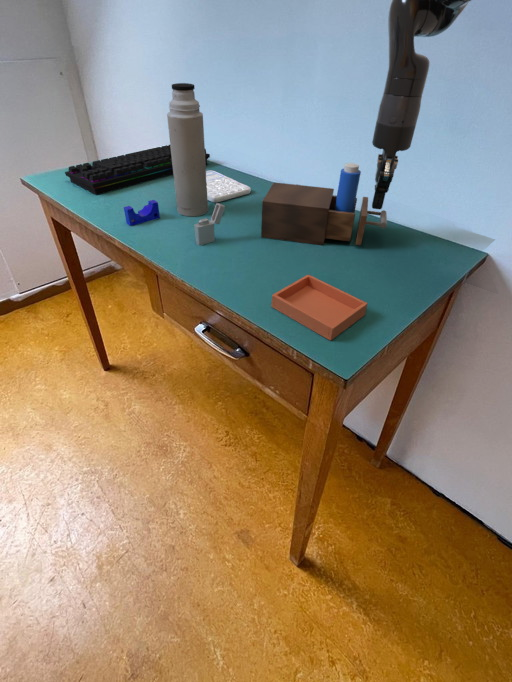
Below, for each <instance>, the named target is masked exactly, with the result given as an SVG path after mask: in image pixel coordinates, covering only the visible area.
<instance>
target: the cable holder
mask: <svg viewBox="0 0 512 682" xmlns="http://www.w3.org/2000/svg"><path fill="white" fill-rule="evenodd" d="M123 212H124V217H125V222H126V224H127V225H128V226H130V227H133V226H136V225H140V224H143V223H147V222H151V221H154V220H157V219H160V218H161V216H160V208H159V202H158V201H157V200H155V199H152V200H148V204H147V205H146V204H145V205H144V206H143V207H142V209H140V210H138V211H137V213H136V212H135V210H134V208H133V207H132V206H131V205H127V206H124V207H123Z"/></svg>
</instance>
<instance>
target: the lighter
mask: <svg viewBox="0 0 512 682" xmlns="http://www.w3.org/2000/svg"><path fill="white" fill-rule="evenodd" d="M225 209H226V205H224V204H222V203H220V202H216V204H215V206H214V209H213V212H212V215H211V217H210V219H208V217H205V218H202V219H199V221H198V223H195V224H194V234H195V235H194V236H195V239H194V240H195V244H196V245H197V246H204V245H206V244H210V243H214V242H216V241H215V240H216V239H215V237H216V236H215V225H220V223H221V220H222V218H223V215H224V212H225Z"/></svg>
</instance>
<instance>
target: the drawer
mask: <svg viewBox="0 0 512 682" xmlns="http://www.w3.org/2000/svg"><path fill="white" fill-rule="evenodd" d="M336 199H337V195H335V194H333V196H332V200H331V204H330V208H329V212H328V219H327V226H326V233H325V239H329V240H336V241H344V242H351V239H352V233H353V229H354V223H355V217H356V211H355V210H356V206H357V202H358V197H356V200H355V206H354V211H353V213H350V212H341V211H335V205H336ZM360 205H361V206H360V211H359V215H358V221H357V227H356V235H355V236H356V237H355V245H356V246H362V244H363V243H362V242H363V238H364V233H365V228H366V225H368V226H369V225H370V226H376V227H380V228H381V229H386V228H387V227H388V222H387V221H388V216H387V210H384V209H383V210H381V211H375V210H368V208H369V197H368V196H363V197H362V200H361V204H360ZM368 215H373V216H379V219H380V220H379V221H371V220H368V219H367V218H368Z"/></svg>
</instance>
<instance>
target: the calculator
mask: <svg viewBox="0 0 512 682" xmlns="http://www.w3.org/2000/svg"><path fill="white" fill-rule="evenodd" d="M206 183H207V199H208V202H211V203H214V204H215V203H220V202H223V201H228V200H231V199H235V198H240V197H242V196H246V195H249V194H250V193H251V191H252V189H251V187H250V186H248V185H246V184H244V183H241V182H240V181H237V180H235V179H233V178H231V177H229V176H226V175H225V174H222V173H220V172H217V171H215V170H210V169H209V170H206Z"/></svg>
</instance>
